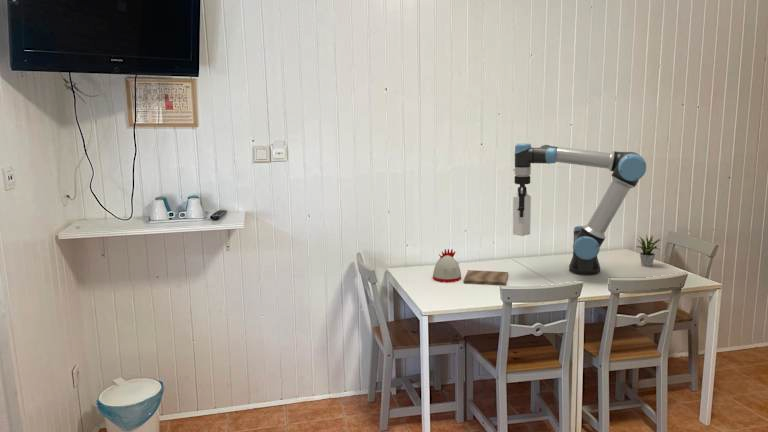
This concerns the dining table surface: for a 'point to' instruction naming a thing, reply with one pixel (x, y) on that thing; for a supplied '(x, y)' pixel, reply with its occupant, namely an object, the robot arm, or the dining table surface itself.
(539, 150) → the robot arm
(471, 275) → the walnut board
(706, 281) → the dining table surface
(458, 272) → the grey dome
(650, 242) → the house plant
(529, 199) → the milk
